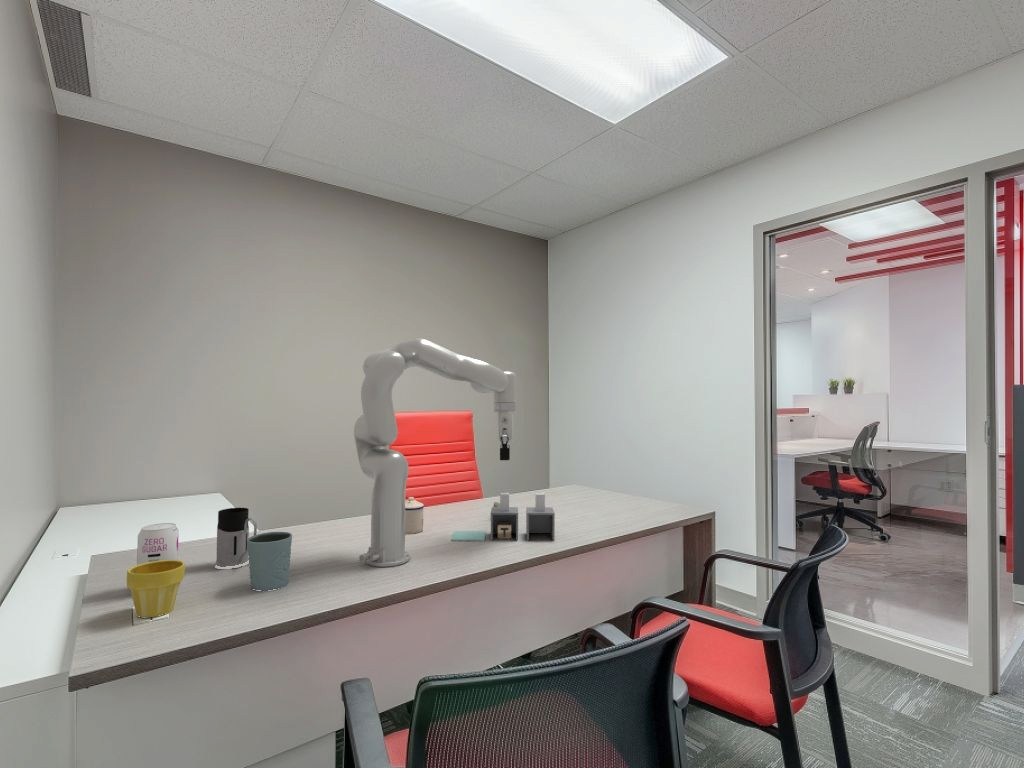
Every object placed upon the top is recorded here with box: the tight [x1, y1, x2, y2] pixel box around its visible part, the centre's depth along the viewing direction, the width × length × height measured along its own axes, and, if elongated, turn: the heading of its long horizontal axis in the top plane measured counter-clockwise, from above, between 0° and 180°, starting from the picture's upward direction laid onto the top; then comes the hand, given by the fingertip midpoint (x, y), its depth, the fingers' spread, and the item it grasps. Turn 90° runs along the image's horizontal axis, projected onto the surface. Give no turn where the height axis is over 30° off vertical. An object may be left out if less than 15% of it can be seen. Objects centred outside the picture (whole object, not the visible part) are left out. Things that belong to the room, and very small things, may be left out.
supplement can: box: [136, 522, 180, 566], centre depth 125 cm, size 8×8×15 cm
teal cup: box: [247, 531, 293, 592], centre depth 128 cm, size 10×10×12 cm
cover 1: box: [490, 492, 519, 541], centre depth 174 cm, size 9×9×14 cm
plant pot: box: [126, 559, 186, 618], centre depth 112 cm, size 10×10×10 cm
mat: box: [450, 530, 487, 542], centre depth 174 cm, size 11×11×1 cm
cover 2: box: [525, 492, 556, 541], centre depth 174 cm, size 9×9×14 cm
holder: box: [215, 507, 258, 567], centre depth 142 cm, size 9×14×15 cm, turn 62°
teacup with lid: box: [405, 496, 425, 535], centre depth 182 cm, size 12×9×12 cm
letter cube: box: [497, 522, 512, 539], centre depth 174 cm, size 5×4×4 cm
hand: (504, 458), depth 174 cm, fingers open, 9 cm apart
